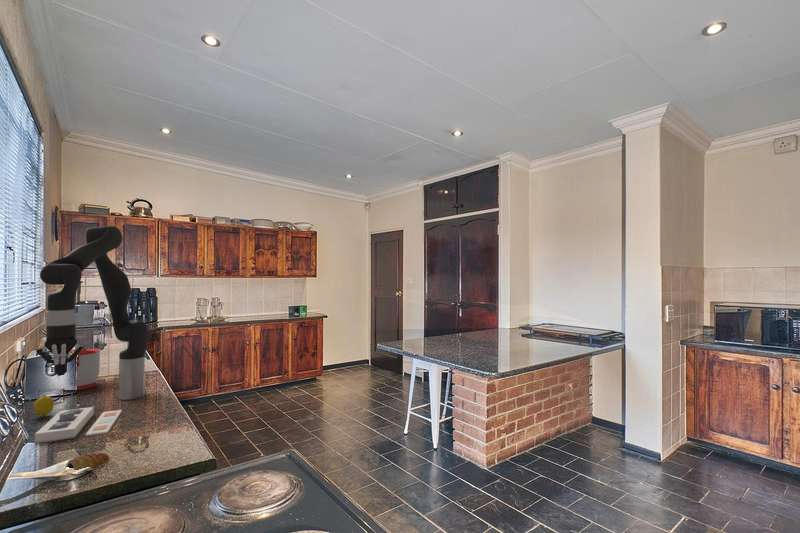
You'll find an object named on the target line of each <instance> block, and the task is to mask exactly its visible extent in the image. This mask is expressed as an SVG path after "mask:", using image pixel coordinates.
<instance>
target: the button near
mask: <svg viewBox="0 0 800 533" xmlns="http://www.w3.org/2000/svg"><path fill="white" fill-rule="evenodd" d="M67 427H68V422H60V423H56V424H54V425H52V430H54V429H61V428H67Z"/></svg>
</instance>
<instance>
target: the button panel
mask: <svg viewBox="0 0 800 533" xmlns="http://www.w3.org/2000/svg"><path fill="white" fill-rule="evenodd" d="M79 409H81V413H80V414H75V416H74V421H66V422H68V427H67V428H61V429H54V430H52V425H54V424H56V423H60V414H61V413H64V412H67V411H69V410H70V409H66V410H60V411H58V413H56V415H54V416H53V417H52V418H51V419H50V420H48V421H47V423H45V424H44V425H43V426H42V427H41V428H40V429H39V430H37V432H35V433H34V444H40V443H41V444H42V443H47V442H48V443H49V442H53V441H55V442H56V441H62V440H68V439H75V438H76V437H77V435H78V434H79V433H80V432H81V431H82V429H83V428H84V427H85V426H86V425H87V423H88V422H89V421H90V420H91V419H92V418H93V417H94V415H95V411H94V410H95V407H94V406H89V407H82V408H79ZM71 410H73V409H71Z"/></svg>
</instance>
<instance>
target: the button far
mask: <svg viewBox="0 0 800 533" xmlns="http://www.w3.org/2000/svg"><path fill="white" fill-rule="evenodd" d="M68 410H69V411H67V412H71V411H73V412H75V414H80V413H81V409H80V408H74V409H73V410H72V409H68Z"/></svg>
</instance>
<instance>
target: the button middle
mask: <svg viewBox="0 0 800 533" xmlns="http://www.w3.org/2000/svg"><path fill="white" fill-rule="evenodd" d="M74 416H75V412H73V411H71V412H64V413H61V414H60V422H66V421H74Z"/></svg>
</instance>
